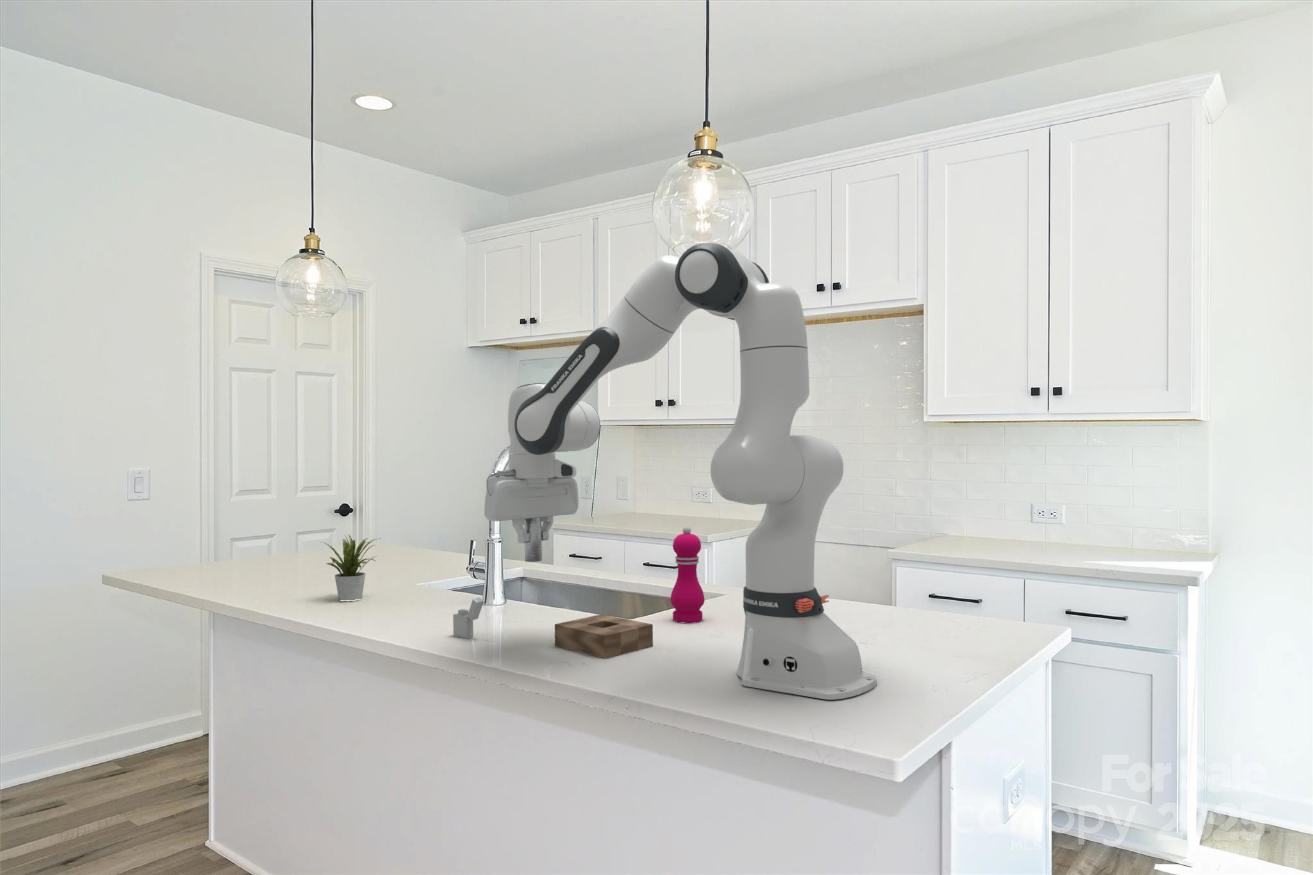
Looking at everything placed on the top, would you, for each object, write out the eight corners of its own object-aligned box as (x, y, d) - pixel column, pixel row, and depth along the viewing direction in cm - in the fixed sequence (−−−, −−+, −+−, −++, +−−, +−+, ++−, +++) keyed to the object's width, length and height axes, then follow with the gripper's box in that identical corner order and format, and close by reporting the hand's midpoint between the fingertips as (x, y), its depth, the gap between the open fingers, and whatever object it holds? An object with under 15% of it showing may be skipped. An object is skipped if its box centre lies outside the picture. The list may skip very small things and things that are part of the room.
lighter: (452, 636, 170) (452, 595, 170) (459, 634, 171) (459, 594, 171) (477, 640, 166) (477, 599, 166) (484, 638, 167) (484, 597, 167)
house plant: (398, 598, 211) (397, 531, 211) (351, 607, 199) (350, 537, 199) (359, 592, 218) (359, 528, 218) (312, 602, 207) (311, 534, 207)
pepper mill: (705, 616, 185) (704, 524, 185) (704, 624, 178) (703, 527, 178) (672, 616, 186) (671, 524, 186) (669, 623, 179) (668, 527, 179)
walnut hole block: (652, 645, 160) (652, 624, 160) (605, 658, 151) (605, 635, 151) (602, 634, 170) (601, 614, 170) (554, 645, 161) (554, 624, 161)
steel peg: (545, 560, 164) (544, 507, 164) (532, 562, 161) (531, 509, 162) (534, 559, 166) (534, 507, 166) (521, 560, 164) (520, 508, 164)
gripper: (497, 471, 154) (498, 548, 154) (582, 467, 169) (584, 537, 169) (476, 470, 158) (478, 545, 158) (562, 467, 173) (563, 535, 173)
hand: (533, 541), depth 164 cm, fingers closed on steel peg, 3 cm apart
